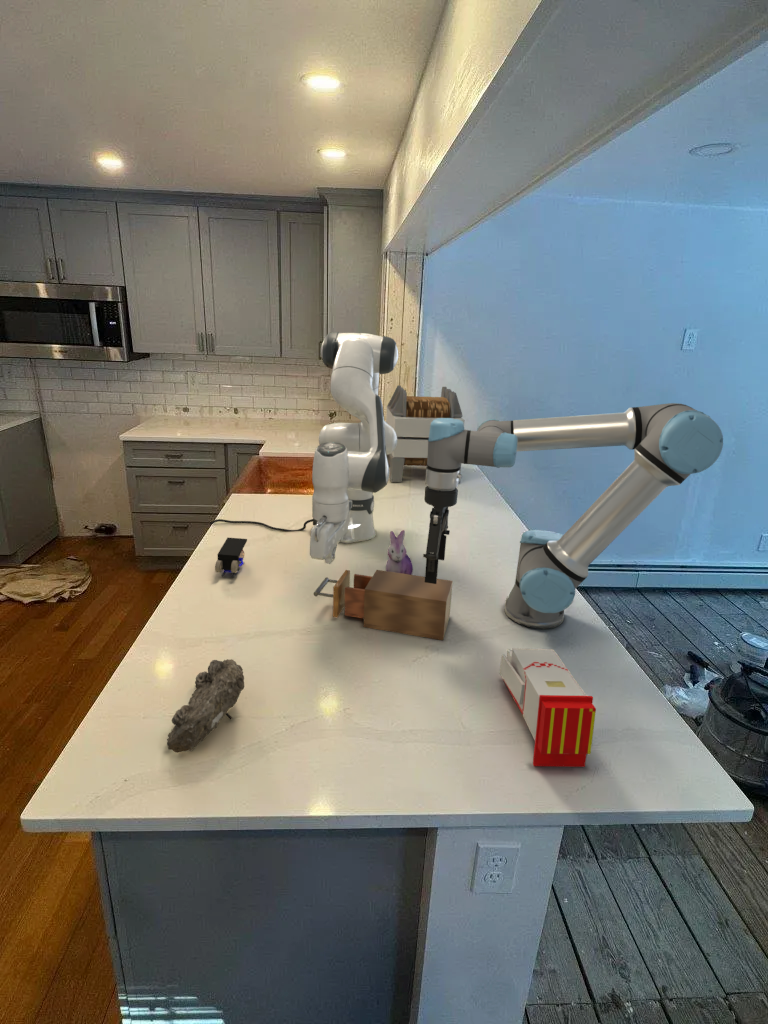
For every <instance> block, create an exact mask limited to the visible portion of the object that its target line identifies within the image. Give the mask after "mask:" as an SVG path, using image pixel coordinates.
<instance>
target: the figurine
mask: <svg viewBox="0 0 768 1024" xmlns="http://www.w3.org/2000/svg"><path fill="white" fill-rule="evenodd" d="M405 535H406V531H405V530H404V529H402V530H401V531H400V532H399V534H398V535H397V536H396V533H394V531H393V530H390V532H389V546H388V548H387V550H386V551H387V553H386V554H387V556H388V559H387V560H386V563H385V571H389V572H395V573H402V574H409V575H413V573H414V572H413V570H414V567H413V566H414V565H413V562H412V559H411V558H410V556H409V555H408V554H407V549H406V545H405V544H404V540H405Z"/></svg>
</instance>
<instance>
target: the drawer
mask: <svg viewBox="0 0 768 1024" xmlns="http://www.w3.org/2000/svg"><path fill="white" fill-rule="evenodd" d="M372 576H373V575H372ZM372 576H371V575H364V574H358V573H354V574H353V587H351V570H349V569H345V570H344V572H343V573H342V574H341V576H340V577H339V579H338V580H337V579H330V578H329V577H324V578H323V580H322V581H321V583H319V585H318V587H317V588H316V589H315V590H314V592H313V594H312V595H313V596H314V597H318V596H321V597H325V598H327V597H328V598H332V617H333V618H338V617H339V616H340V614H341V613H342V612H343V610H344V616H346V617H353V618H358V619H364V596H365V588H366V586H367V585H368V583H369V581H370V580H371V578H372ZM328 583H331V584H334V585H333V587H332V588H333V589H332V590H333V591H332V593H326V592H322V591H323V590H324V588H325V587H326V586H327V584H328Z"/></svg>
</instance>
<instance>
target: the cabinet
mask: <svg viewBox="0 0 768 1024" xmlns="http://www.w3.org/2000/svg"><path fill="white" fill-rule="evenodd" d="M453 582H454V581H453V580H449V579H443V578H437V583H436V584H432V583H425V576H421V575H416V574H412V575H409V574H402V573H395V572H389V571H386V570H381V569H376V570H375V571H374V573H373V575H372V578H371V580H370V581H369V583H368V585H367V586H366V588H365V596H364V618H363V628H366V629H367V628H368V629H373V630H379V631H386V632H391V633H397V634H403V635H408V636H415V637H420V638H426V639H432V640H437V641H438V640H439V641H444V638H445V634H446V632H447V628H448V625H449V620H450V618H451V617H450V616H451V604H452V595H453Z"/></svg>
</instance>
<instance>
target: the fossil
mask: <svg viewBox="0 0 768 1024" xmlns="http://www.w3.org/2000/svg"><path fill="white" fill-rule="evenodd" d="M243 670H244V669H243V667H242V665H240V664H237V662H236V661H235V660H234V659H232V658H231V659H227V658H226V659H224V660H223V661H222V660H217V659H212V660H211V661H210V663H209V665H208V666H207V671H201V672H199V673H198V674H197V675H196V676H195V680H194V684H195V685H194V687H195V689H194V690H193V693H192V694H191V697H190V698H189V700H188V704H184V705H182V706H181V707H180V709H177V710H176V711H175V713H174V715H173V716H172V718H171V723H172V724H173V727H172V730H171V731H170V732H168V734H167V738H166V741H167V742H166V745H167V749H168V750H169V751H173V752H174V753H176V754H178V753H182V752H188V751H189V752H192V751H193V750H195V748H196V747H197V746H199V744H200V743H201V742H203V741H204V740H205V739H206V738H207V737H208V736H209V735H210V734H211V733H212V732H214V730H215V729H217V727H218V726H219V724H220V722H221V721H222V720H223V719H224V718H225V716H226V717H227V719H229V720H233V717H232V715H230V714H229V710H230V709H231V708H234V706H235V704H236V703H237V702H238V699H239V697H240V695H241V693H242V691H243V690H245V689H244V688H245V675H244V671H243Z"/></svg>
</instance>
